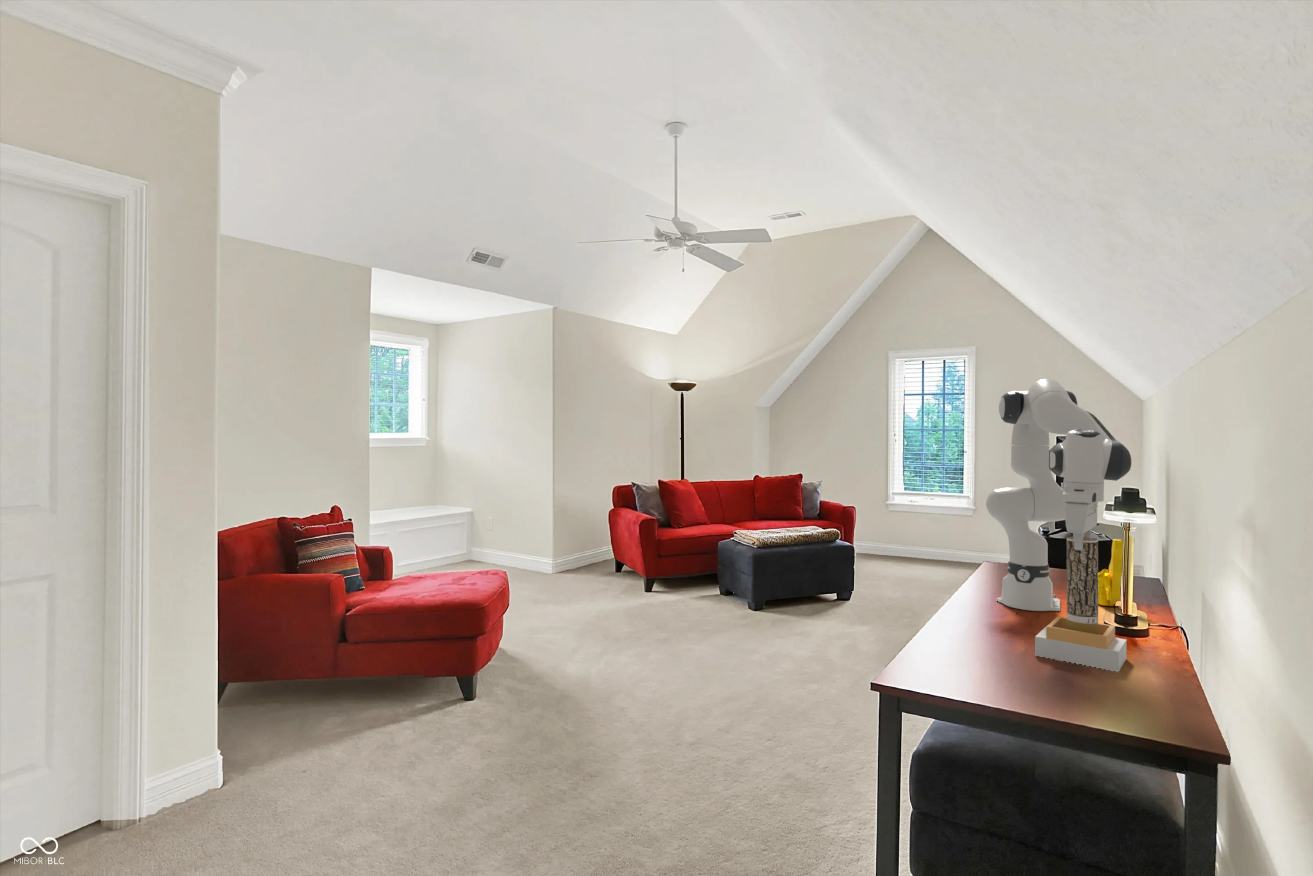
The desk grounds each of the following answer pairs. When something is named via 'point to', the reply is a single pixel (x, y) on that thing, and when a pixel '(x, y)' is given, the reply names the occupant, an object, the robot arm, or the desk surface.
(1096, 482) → the robot arm
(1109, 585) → the figure statuette
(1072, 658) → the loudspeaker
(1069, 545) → the paper tube
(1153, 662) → the desk surface
